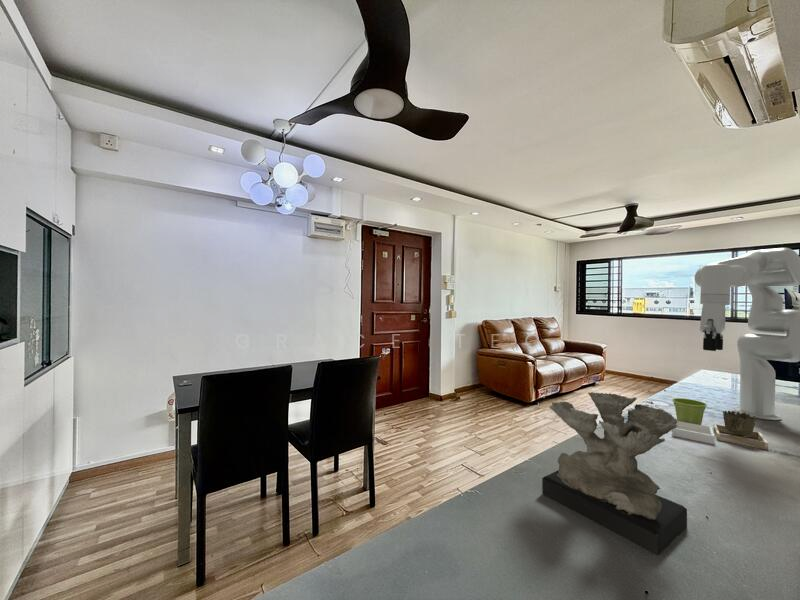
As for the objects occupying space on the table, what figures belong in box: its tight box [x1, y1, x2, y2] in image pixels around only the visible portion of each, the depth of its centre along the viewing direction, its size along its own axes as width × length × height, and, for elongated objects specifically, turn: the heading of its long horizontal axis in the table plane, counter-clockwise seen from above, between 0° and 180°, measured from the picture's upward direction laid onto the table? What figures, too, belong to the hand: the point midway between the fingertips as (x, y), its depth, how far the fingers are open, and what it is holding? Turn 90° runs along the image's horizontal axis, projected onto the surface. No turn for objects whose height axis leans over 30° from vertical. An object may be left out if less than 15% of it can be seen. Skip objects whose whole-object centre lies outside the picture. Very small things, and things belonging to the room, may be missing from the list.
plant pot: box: [671, 397, 708, 425], centre depth 118 cm, size 9×9×9 cm
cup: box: [722, 410, 757, 439], centre depth 108 cm, size 8×7×8 cm
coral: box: [541, 391, 688, 556], centre depth 72 cm, size 25×20×22 cm
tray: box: [671, 421, 716, 445], centre depth 110 cm, size 10×10×2 cm
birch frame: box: [712, 423, 769, 451], centre depth 108 cm, size 11×11×2 cm
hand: (712, 350), depth 117 cm, fingers open, 9 cm apart
